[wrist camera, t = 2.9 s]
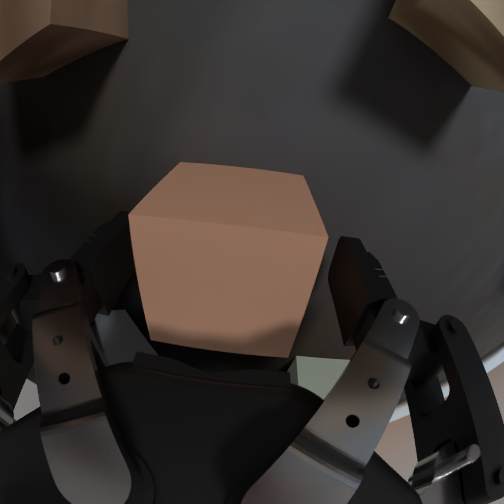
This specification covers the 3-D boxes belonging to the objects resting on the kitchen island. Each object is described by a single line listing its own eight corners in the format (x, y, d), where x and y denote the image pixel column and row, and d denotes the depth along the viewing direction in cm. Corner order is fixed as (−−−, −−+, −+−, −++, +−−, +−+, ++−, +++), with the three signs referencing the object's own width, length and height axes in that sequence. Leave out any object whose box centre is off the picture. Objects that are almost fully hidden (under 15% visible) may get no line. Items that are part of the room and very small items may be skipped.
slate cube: (110, 355, 19) (90, 405, 15) (75, 312, 16) (46, 365, 12) (159, 355, 18) (143, 414, 14) (125, 308, 16) (95, 373, 11)
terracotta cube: (181, 261, 13) (150, 340, 9) (180, 161, 10) (128, 214, 6) (282, 273, 13) (288, 357, 9) (302, 175, 11) (328, 237, 6)
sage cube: (276, 388, 20) (276, 443, 16) (296, 354, 17) (300, 422, 13) (332, 391, 20) (338, 442, 16) (360, 359, 18) (373, 419, 13)
